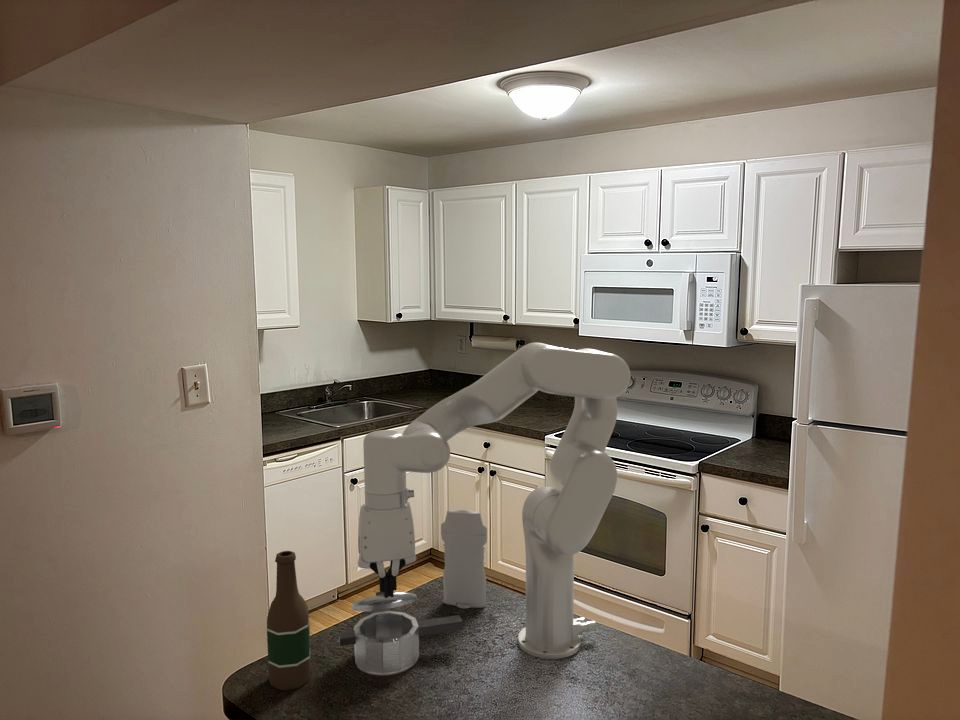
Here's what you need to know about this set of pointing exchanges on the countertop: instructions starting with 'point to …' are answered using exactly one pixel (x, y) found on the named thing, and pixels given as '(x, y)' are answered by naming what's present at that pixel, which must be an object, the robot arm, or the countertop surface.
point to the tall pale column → (464, 559)
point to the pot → (392, 640)
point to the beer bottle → (288, 629)
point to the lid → (384, 602)
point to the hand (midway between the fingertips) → (388, 594)
